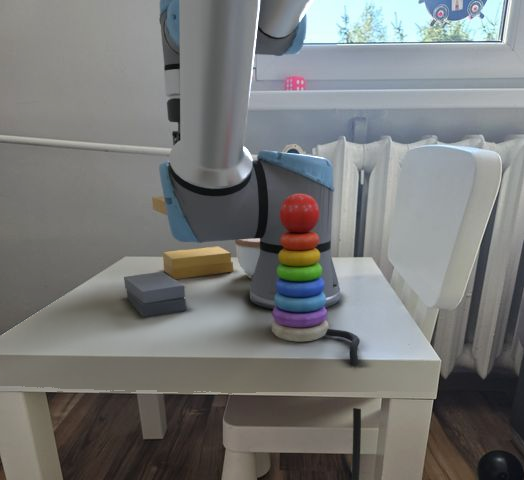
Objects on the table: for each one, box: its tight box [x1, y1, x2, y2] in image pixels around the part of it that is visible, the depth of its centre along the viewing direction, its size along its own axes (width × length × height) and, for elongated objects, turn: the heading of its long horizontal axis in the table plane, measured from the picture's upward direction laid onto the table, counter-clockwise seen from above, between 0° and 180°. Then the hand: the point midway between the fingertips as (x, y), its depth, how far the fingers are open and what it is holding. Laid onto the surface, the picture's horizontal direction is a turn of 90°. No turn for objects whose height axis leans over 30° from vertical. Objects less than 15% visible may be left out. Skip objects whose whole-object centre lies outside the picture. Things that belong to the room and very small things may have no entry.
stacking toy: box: [271, 194, 330, 343], centre depth 66 cm, size 8×8×19 cm
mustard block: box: [151, 195, 168, 217], centre depth 98 cm, size 14×10×2 cm
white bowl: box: [234, 238, 260, 279], centre depth 97 cm, size 11×11×9 cm
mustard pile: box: [162, 246, 234, 280], centre depth 102 cm, size 13×8×4 cm, turn 117°
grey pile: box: [123, 271, 187, 318], centre depth 82 cm, size 11×7×4 cm, turn 27°
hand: (195, 222), depth 100 cm, fingers closed on mustard block, 10 cm apart
